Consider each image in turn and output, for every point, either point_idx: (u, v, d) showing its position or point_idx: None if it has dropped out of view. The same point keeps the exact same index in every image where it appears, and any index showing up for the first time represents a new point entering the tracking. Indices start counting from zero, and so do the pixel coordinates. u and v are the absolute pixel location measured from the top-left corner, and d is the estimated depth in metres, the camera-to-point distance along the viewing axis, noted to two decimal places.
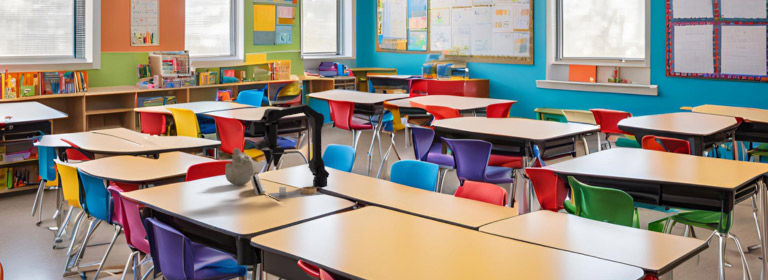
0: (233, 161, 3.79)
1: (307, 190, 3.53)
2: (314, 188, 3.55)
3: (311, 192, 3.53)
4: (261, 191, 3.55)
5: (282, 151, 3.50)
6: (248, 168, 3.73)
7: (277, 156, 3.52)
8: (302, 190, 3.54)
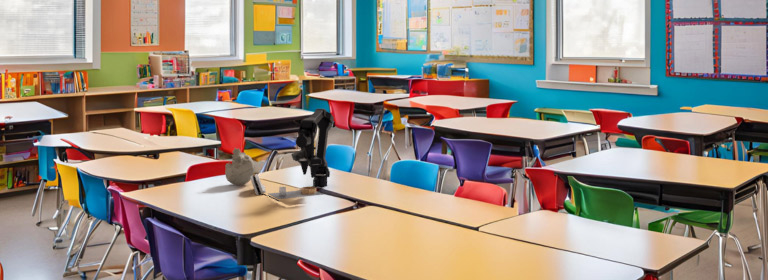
0: (233, 161, 3.79)
1: (307, 190, 3.53)
2: (314, 188, 3.55)
3: (311, 192, 3.53)
4: (261, 191, 3.55)
5: (320, 162, 3.47)
6: (248, 168, 3.73)
7: (314, 167, 3.50)
8: (302, 190, 3.54)
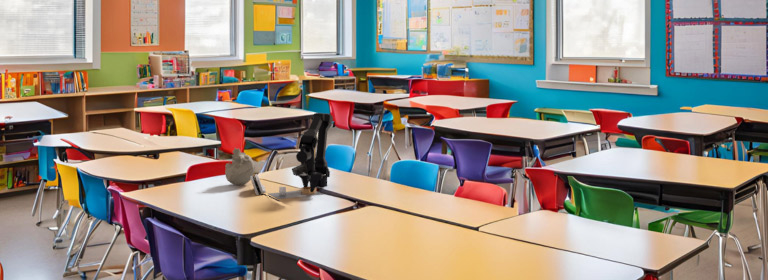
0: (233, 161, 3.79)
1: (307, 190, 3.53)
2: None
3: (311, 192, 3.53)
4: (261, 191, 3.55)
5: (320, 177, 3.48)
6: (248, 168, 3.73)
7: (314, 181, 3.52)
8: (302, 190, 3.54)
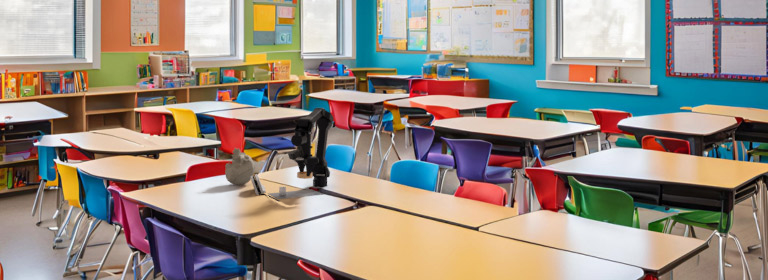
0: (233, 161, 3.79)
1: (303, 174, 3.50)
2: None
3: (307, 176, 3.51)
4: (261, 191, 3.55)
5: (316, 161, 3.46)
6: (248, 168, 3.73)
7: (310, 166, 3.49)
8: (298, 175, 3.52)
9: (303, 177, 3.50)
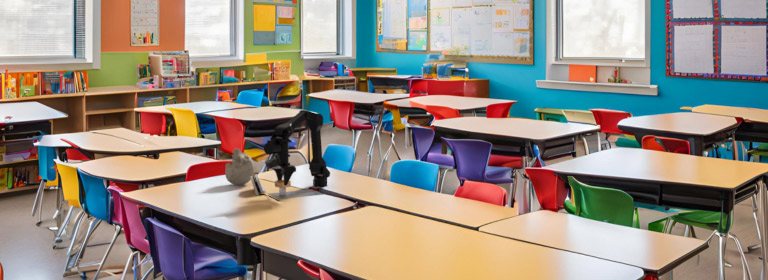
0: (233, 161, 3.79)
1: (281, 183, 3.45)
2: None
3: (285, 185, 3.45)
4: (261, 191, 3.54)
5: (294, 170, 3.40)
6: (248, 168, 3.73)
7: (288, 175, 3.44)
8: (276, 183, 3.46)
9: (280, 186, 3.45)
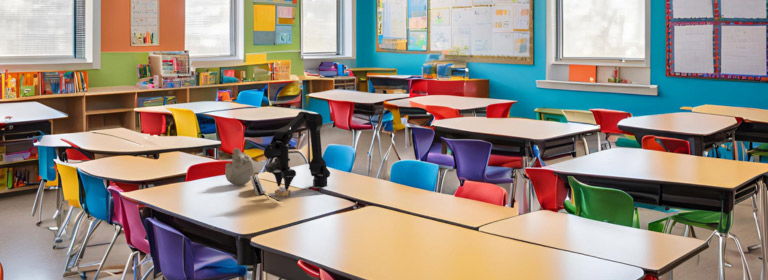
0: (233, 161, 3.79)
1: (281, 193, 3.45)
2: (288, 191, 3.48)
3: (285, 195, 3.46)
4: (261, 191, 3.54)
5: (294, 174, 3.41)
6: (248, 168, 3.73)
7: (288, 179, 3.43)
8: (276, 193, 3.47)
9: (280, 195, 3.45)
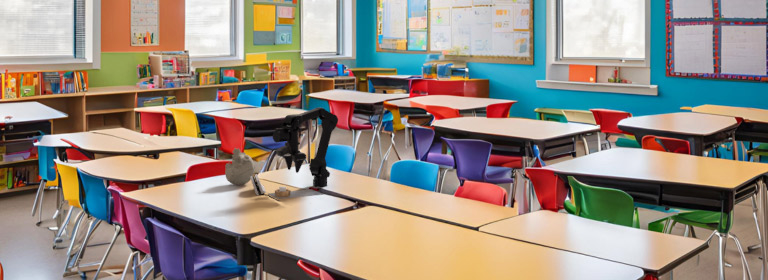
0: (233, 161, 3.79)
1: (281, 193, 3.45)
2: (288, 191, 3.48)
3: (285, 195, 3.46)
4: (261, 191, 3.54)
5: (304, 157, 3.52)
6: (248, 168, 3.73)
7: (299, 162, 3.54)
8: (276, 193, 3.47)
9: (280, 195, 3.45)
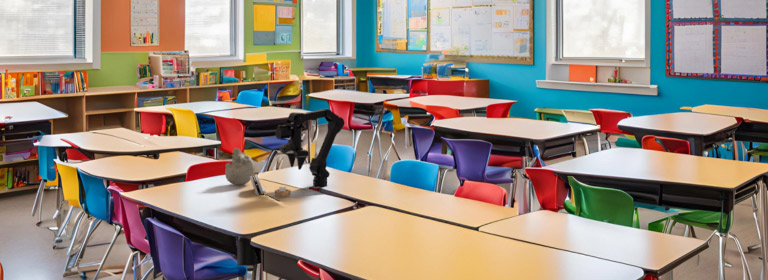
0: (233, 161, 3.79)
1: (281, 193, 3.45)
2: (288, 191, 3.48)
3: (285, 195, 3.46)
4: (261, 191, 3.54)
5: (307, 154, 3.55)
6: (248, 168, 3.73)
7: (301, 159, 3.58)
8: (276, 193, 3.47)
9: (280, 195, 3.45)
